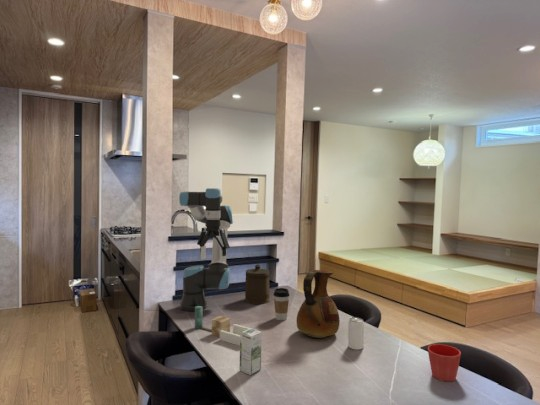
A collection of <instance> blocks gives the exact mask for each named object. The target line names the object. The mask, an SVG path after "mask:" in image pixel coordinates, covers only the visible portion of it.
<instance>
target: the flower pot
mask: <svg viewBox="0 0 540 405" xmlns="http://www.w3.org/2000/svg"><path fill="white" fill-rule="evenodd" d="M427 354H428V359H429V364H430V371H431V375H432V376H433V377H434V379H436V380H438V381H441V382H454V381H456V379H457V375H458V370H459V367H460V360H461V356H462V352H461V350H459V349H458V348H457V347H454V346H451V345H447V344H443V343H442V344H441V343H439V344H437V343H434V344H430V345H429V346H428V347H427Z"/></svg>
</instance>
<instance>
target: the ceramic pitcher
mask: <svg viewBox="0 0 540 405" xmlns="http://www.w3.org/2000/svg"><path fill="white" fill-rule="evenodd" d="M333 274H334V271H330V270H321V269H310V270H309V272H307V273H306V275H305V276H304V279H303V284H302V289H303V294H304V298H305V299H304V300H303V302H302V304H301V306H300V307H299V310H298V311H297V315H296V327H297V330H298V331H300V332H301V333H303V334H306V336H308V337H312V338H317V339H325V338H326V337H328V336H333V335H335V334H337V333H338V331H339V328H340V315H339V310H338V307H337V305H336V303H335V302H334V300H333V298H331V296H329V294H328V291H327V287H328V286H327V285H328V280H329V278H330V277H331V276H332V275H333ZM313 279H314V289H313V291H312V285H313V284H312V283H313Z"/></svg>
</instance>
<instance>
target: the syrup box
mask: <svg viewBox="0 0 540 405" xmlns="http://www.w3.org/2000/svg"><path fill="white" fill-rule="evenodd" d="M249 328H250V329H248V330H246V331H243V332H241V333H240V346H239V372H242V373H243V374H247V375H249V376H252V375H254V374H256V373H258V372H259V371H260V370H261V369H262V334H263V333H262V332H261V331H260V330H259V329H256V330H255V328H252V327H249ZM251 328H252V329H251ZM258 330H259V331H258Z"/></svg>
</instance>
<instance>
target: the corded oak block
mask: <svg viewBox="0 0 540 405" xmlns="http://www.w3.org/2000/svg"><path fill="white" fill-rule="evenodd" d="M203 312H204V309H203V307H202V306H196V307H195V311H194V328H195V329H196V330H201V329H202V330H206V331H209V332H211V335H212V336H216V337H219V338H220V331H221V330H223V331H227V332H230V333H231V318H230V317H228V316H227V317H226V316H222V315H219V316H217V317H214V318H212V319H211V328H208V327H204V325H203V323H204V322H203Z"/></svg>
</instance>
